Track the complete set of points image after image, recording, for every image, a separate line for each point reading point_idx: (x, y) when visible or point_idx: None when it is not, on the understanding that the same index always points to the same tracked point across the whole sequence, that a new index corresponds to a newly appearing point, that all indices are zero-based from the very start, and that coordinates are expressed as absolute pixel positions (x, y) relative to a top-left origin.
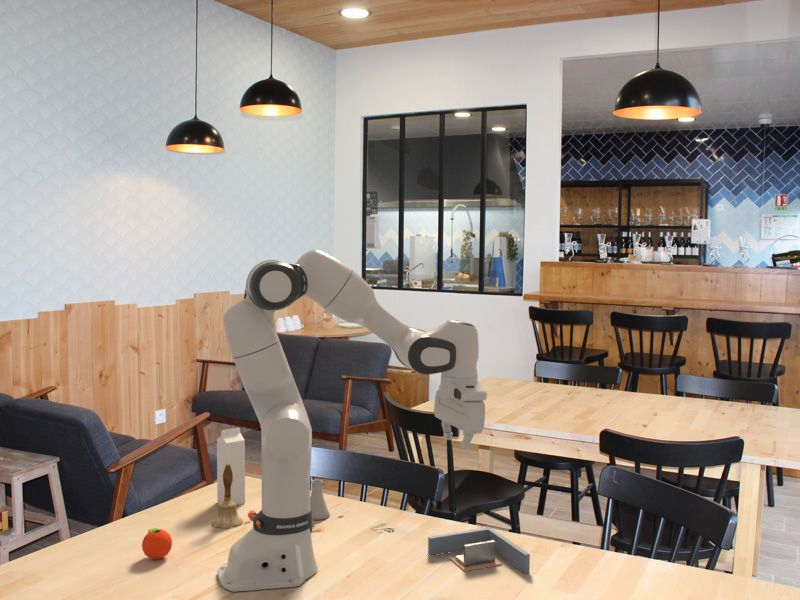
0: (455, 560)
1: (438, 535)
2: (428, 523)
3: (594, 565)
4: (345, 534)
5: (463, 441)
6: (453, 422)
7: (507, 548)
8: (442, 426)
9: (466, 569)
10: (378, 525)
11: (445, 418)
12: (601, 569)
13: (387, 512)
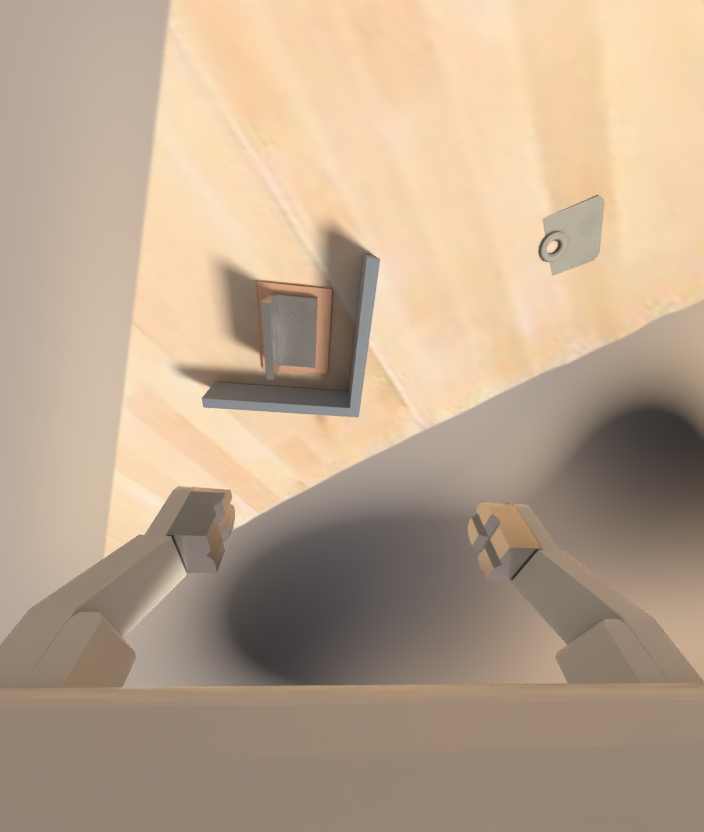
0: (311, 293)
1: (374, 290)
2: (513, 354)
3: (218, 480)
4: (636, 85)
5: (146, 540)
6: (274, 789)
7: (273, 397)
8: (616, 594)
9: (259, 288)
10: (597, 234)
11: (603, 777)
12: (202, 480)
13: (635, 305)
